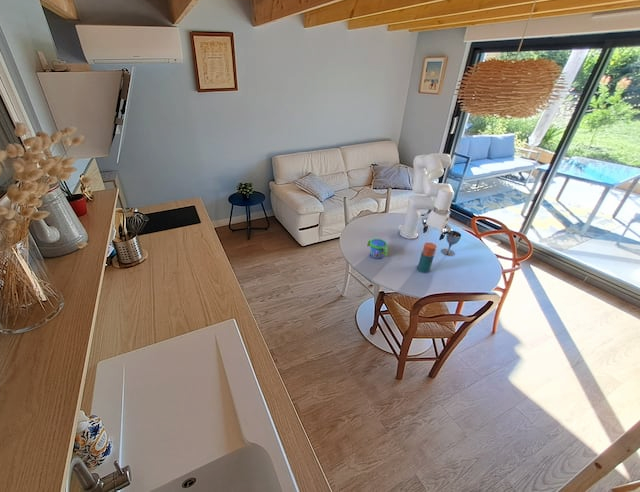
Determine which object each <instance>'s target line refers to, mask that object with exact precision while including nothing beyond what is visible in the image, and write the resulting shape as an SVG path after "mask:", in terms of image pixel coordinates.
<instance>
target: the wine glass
mask: <svg viewBox="0 0 640 492" xmlns="http://www.w3.org/2000/svg"><path fill="white" fill-rule="evenodd" d="M445 236H446V237H445V240H446V242H447V244H448V249H447V248H446V249H445V248H443V249H442V250H441V252H442V253H443V254H444V255H446V256H451V257H452V256H454V252H453V251H452V250H450V249H451V247H452V246H454V245H456V244H458V243H459V241H460V240H461V237H462V234H461V233H460V232H459V231H456V230H452V231H451V232H449V233H448V234H446V235H445Z"/></svg>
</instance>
